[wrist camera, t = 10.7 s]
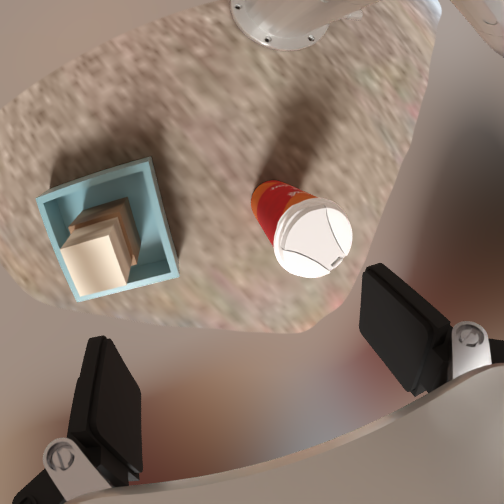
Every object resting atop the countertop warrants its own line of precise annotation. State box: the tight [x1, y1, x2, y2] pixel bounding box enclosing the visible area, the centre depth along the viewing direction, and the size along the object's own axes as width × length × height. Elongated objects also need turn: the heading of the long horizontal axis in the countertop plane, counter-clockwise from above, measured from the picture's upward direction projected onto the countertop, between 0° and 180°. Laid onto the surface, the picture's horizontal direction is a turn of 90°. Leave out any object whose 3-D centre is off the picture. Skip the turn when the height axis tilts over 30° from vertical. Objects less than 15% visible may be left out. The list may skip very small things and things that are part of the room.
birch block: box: [60, 217, 132, 297], centre depth 27 cm, size 5×5×5 cm
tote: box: [36, 156, 180, 302], centre depth 33 cm, size 14×14×4 cm
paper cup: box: [251, 180, 352, 278], centre depth 33 cm, size 8×8×14 cm
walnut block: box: [68, 197, 141, 266], centre depth 32 cm, size 6×6×6 cm
